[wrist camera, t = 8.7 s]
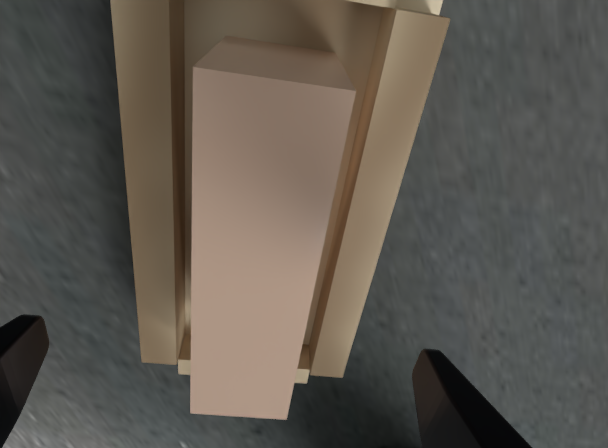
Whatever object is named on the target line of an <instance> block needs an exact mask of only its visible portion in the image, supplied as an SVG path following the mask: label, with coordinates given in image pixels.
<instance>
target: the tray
mask: <svg viewBox="0 0 608 448" xmlns="http://www.w3.org/2000/svg"><path fill="white" fill-rule="evenodd" d="M110 2H111V14H112V25H113V37H114V48H115V60H116V72H117V83H118V95H119V106H120V118H121V129H122V141H123V152H124V164H125V175H126V187H127V199H128V210H129V222H130V233H131V245H132V256H133V268H134V279H135V291H136V303H137V314H138V326H139V337H140V349H141V360H142V362H145V363H158V364H171V365H177V361H178V374H185V375H191V254H192V118H193V66H194V65H195V64H196V63H197V62H199V61H200V60H201V59H202V58H203V57H204V56H205V55H206V54H207V53H208V52H209V51H210V50H211V49H212V48H213V47H214V46H215V45H216V44H217V43H218V42H220V41H221V40H222V39H223V38H224V37H225V36H233V37H239V38H245V39H252V40H258V41H264V42H271V43H277V44H283V45H290V46H296V47H302V48H309V49H315V50H321V51H328V52H334V53H336V55H337V57H338V58H339V60H340V62H341V64H342V66H343V68H344V70H345V71H346V73H347V75H348V77H349V79H350V81H351V83H352V84H353V86H354V88H355V90H356V94H355V99H354V104H353V108H352V113H351V118H350V122H349V127H348V132H347V137H346V141H345V146H344V151H343V156H342V160H341V165H340V170H339V174H338V179H337V184H336V189H335V193H334V198H333V203H332V208H331V212H330V217H329V222H328V226H327V231H326V236H325V241H324V245H323V250H322V255H321V260H320V264H319V269H318V274H317V278H316V283H315V288H314V293H313V297H312V302H311V307H310V312H309V316H308V321H307V326H306V330H305V335H304V340H303V345H302V349H301V354H300V359H299V364H298V368H297V373H296V378H295V382H294V383H305V384H307V380H308V376H309V372H310V375H314V376H327V377H340V378H342V377H343V374H344V370H345V367H346V364H347V360H348V357H349V354H350V351H351V347H352V344H353V341H354V337H355V334H356V331H357V327H358V324H359V321H360V317H361V314H362V311H363V307H364V304H365V301H366V297H367V294H368V291H369V287H370V284H371V281H372V278H373V274H374V271H375V268H376V264H377V261H378V258H379V254H380V251H381V248H382V244H383V241H384V238H385V234H386V231H387V228H388V224H389V221H390V218H391V214H392V211H393V208H394V205H395V201H396V198H397V195H398V191H399V188H400V185H401V181H402V178H403V175H404V171H405V168H406V165H407V161H408V158H409V155H410V151H411V148H412V145H413V141H414V138H415V135H416V132H417V128H418V125H419V122H420V118H421V115H422V112H423V108H424V105H425V102H426V98H427V95H428V92H429V88H430V85H431V82H432V78H433V75H434V72H435V68H436V65H437V62H438V58H439V55H440V52H441V49H442V45H443V42H444V39H445V35H446V32H447V29H448V25H449V22H450V18H446V17H443V16H440V15H439V13H440V9H441V6H442V2H443V0H110Z"/></svg>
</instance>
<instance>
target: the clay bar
mask: <svg viewBox="0 0 608 448" xmlns="http://www.w3.org/2000/svg"><path fill="white" fill-rule="evenodd" d="M355 94H356V90H355V88H354V86H353V84H352V83H351V81H350V79H349V77H348V75H347V73H346V71H345V70H344V68H343V66H342V64H341V62H340V60H339V58H338V57H337V55H336V53H334V52H328V51H321V50H315V49H309V48H302V47H296V46H290V45H283V44H277V43H271V42H264V41H258V40H252V39H245V38H239V37H233V36H225V37H224V38H223V39H222V40H221V41H220V42H218V43H217V44H216V45H215V46H214V47H213V48H212V49H211V50H210V51H209V52H208V53H207V54H206V55H205V56H204V57H203V58H202V59H201V60H200V61H199V62H197V63H196V64H195V65H194V66H193V118H192V254H191V391H190V413H192V414H207V415H222V416H237V417H252V418H267V419H282V420H287V416H288V411H289V406H290V401H291V397H292V392H293V387H294V382H295V378H296V373H297V368H298V364H299V359H300V354H301V349H302V345H303V340H304V335H305V330H306V326H307V321H308V316H309V312H310V307H311V302H312V297H313V293H314V288H315V283H316V278H317V274H318V269H319V264H320V260H321V255H322V250H323V245H324V241H325V236H326V231H327V226H328V222H329V217H330V212H331V208H332V203H333V198H334V193H335V189H336V184H337V179H338V174H339V170H340V165H341V160H342V156H343V151H344V146H345V141H346V137H347V132H348V127H349V122H350V118H351V113H352V108H353V104H354V99H355Z"/></svg>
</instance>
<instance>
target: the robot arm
mask: <svg viewBox="0 0 608 448" xmlns="http://www.w3.org/2000/svg"><path fill="white" fill-rule="evenodd" d="M48 348H49V338H48V334H47V330H46V326H45V322H44V319H43V318H42V317H41V316H37V315H20V316H18V317H16V318H15V319H13V320H11V321H10V322H8V323H6V324H5V325H3V326H1V327H0V448H2V447H3V445H4V443H5V441H6V440H7V438H8V436H9V434H10V432H11V431H12V429H13V427H14V425H15V423H16V421H17V419H18V418H19V416H20V414H21V411H22V409H23V407H24V405H25V403H26V400H27V398H28V396H29V393H30V391H31V389H32V386H33V384H34V382H35V379H36V377H37V375H38V372H39V370H40V368H41V365H42V363H43V361H44V358H45V356H46V354H47V351H48ZM412 381H413V388H414V395H415V403H416V410H417V417H418V425H419V432H420V438H421V443H422V447H423V448H532V447H531V446H530V445H529V444H528V443H527V442H526V441H525V440H524V439H523V438H522V436H521V435H520V434H519V433H518V432H517V431H516V430H515V429H514V428H513V427H512V426H511V425H510V424H509V423H508V422H507V421H506V420H505V419H504V417H503V416H502V415H501V414H500V413H499V412H498V411H497V410H496V409H495V408H494V407H493V406H492V405H491V404H490V403H489V402H488V401H487V400H486V398H485V397H484V396H483V395H482V394H481V393H480V392H479V391H478V390H477V389H476V388H475V387H474V386H473V385H472V384H471V383H470V382H469V381H468V379H467V378H466V377H465V376H464V375H463V374H462V373H461V372H460V371H459V370H458V369H457V368H456V367H455V366H454V365H453V364H452V363H451V362H450V360H449V359H448V358H447V357H446V356H445V355H444V354H443V353H442V352H441V351H439V350H434V349H423V350H422V351H421V353H420V355H419V357H418V360H417V362H416V364H415V367H414V369H413V373H412Z"/></svg>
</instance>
